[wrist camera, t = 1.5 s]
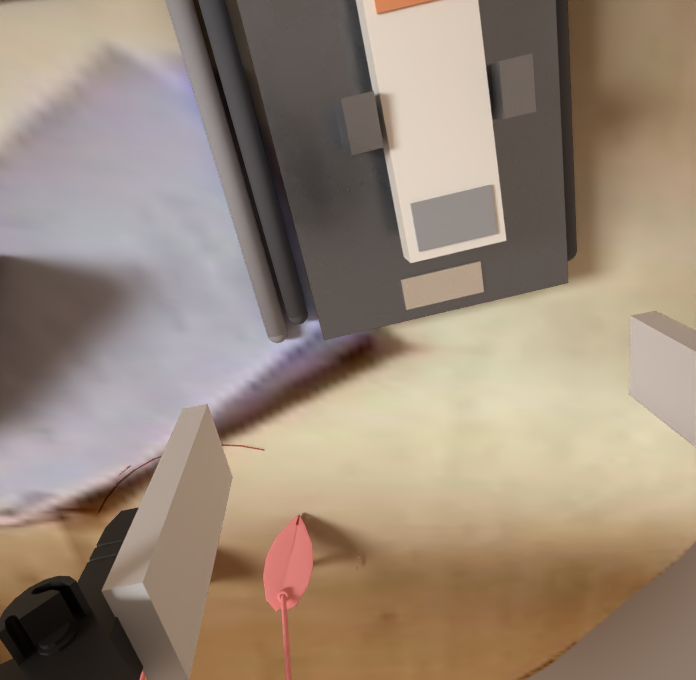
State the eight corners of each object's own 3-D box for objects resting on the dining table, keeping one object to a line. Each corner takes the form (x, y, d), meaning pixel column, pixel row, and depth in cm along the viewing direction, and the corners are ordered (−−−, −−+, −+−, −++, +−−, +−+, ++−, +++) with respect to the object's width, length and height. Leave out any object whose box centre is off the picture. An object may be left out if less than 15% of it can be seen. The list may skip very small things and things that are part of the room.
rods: (145, -74, 27) (137, -84, 26) (553, -170, 27) (565, -186, 25) (270, 340, 36) (269, 347, 35) (571, 269, 36) (581, 274, 35)
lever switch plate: (215, -98, 27) (176, -204, 18) (511, -168, 27) (610, -307, 18) (321, 318, 36) (328, 376, 28) (540, 267, 36) (614, 309, 28)
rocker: (347, -43, 23) (351, -64, 21) (454, -68, 23) (469, -92, 21) (403, 256, 28) (411, 264, 26) (492, 235, 28) (507, 241, 26)
